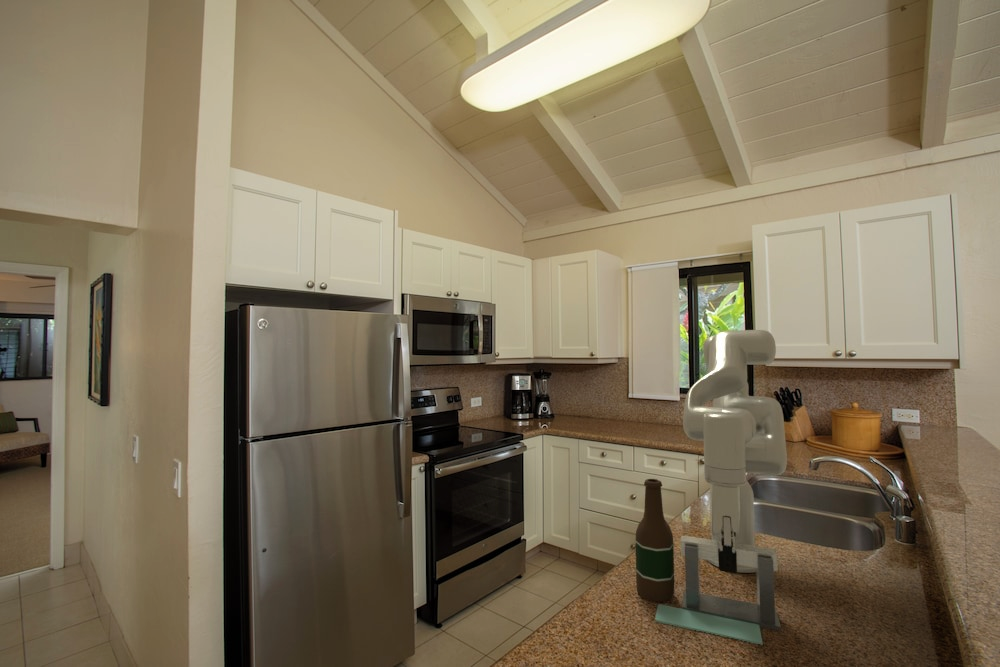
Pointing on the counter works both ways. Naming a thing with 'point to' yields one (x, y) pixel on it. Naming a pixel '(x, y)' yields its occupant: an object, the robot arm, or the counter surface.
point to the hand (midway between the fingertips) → (727, 566)
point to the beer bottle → (654, 549)
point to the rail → (745, 553)
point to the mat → (709, 623)
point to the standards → (731, 608)
